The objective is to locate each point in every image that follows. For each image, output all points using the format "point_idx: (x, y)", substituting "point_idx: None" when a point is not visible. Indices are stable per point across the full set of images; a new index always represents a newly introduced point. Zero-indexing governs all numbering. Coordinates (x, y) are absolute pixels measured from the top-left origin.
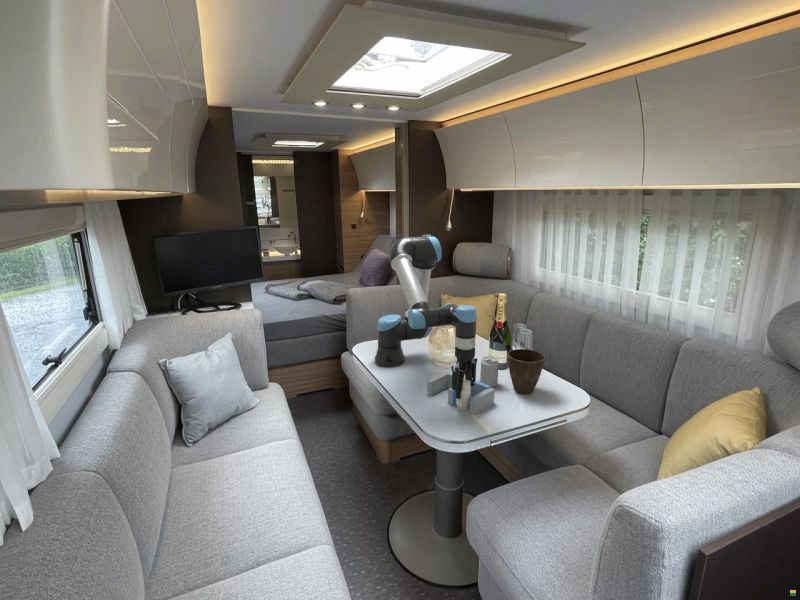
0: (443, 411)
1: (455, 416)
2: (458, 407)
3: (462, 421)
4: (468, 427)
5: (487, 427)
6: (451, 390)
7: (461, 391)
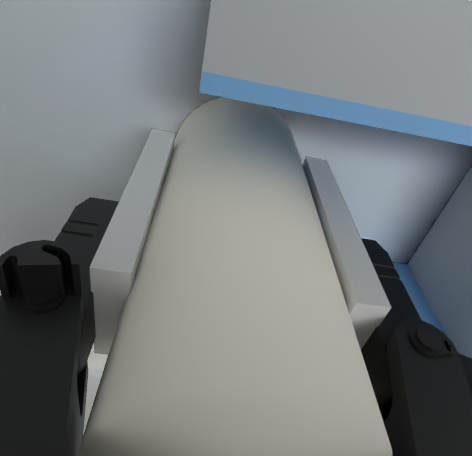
0: (11, 9)
1: (42, 167)
2: (177, 136)
3: (31, 239)
4: None
5: (101, 354)
6: (208, 50)
7: (96, 341)
